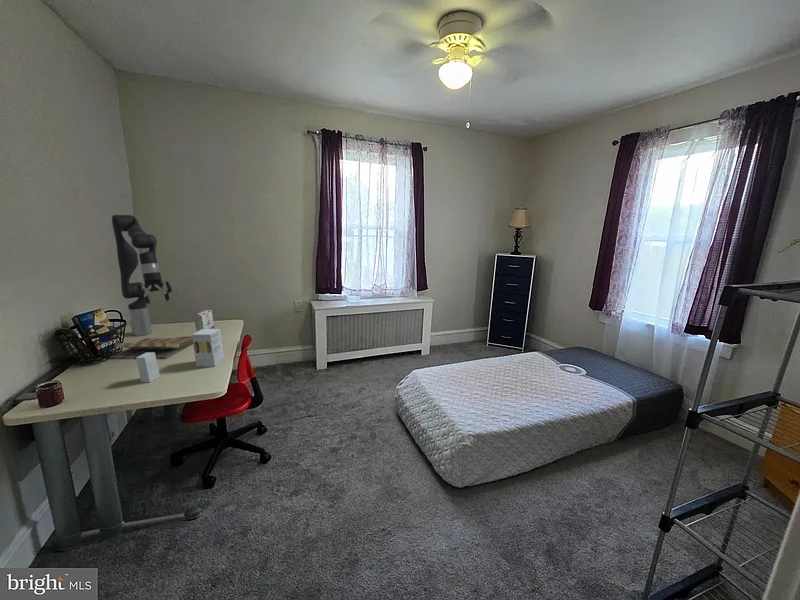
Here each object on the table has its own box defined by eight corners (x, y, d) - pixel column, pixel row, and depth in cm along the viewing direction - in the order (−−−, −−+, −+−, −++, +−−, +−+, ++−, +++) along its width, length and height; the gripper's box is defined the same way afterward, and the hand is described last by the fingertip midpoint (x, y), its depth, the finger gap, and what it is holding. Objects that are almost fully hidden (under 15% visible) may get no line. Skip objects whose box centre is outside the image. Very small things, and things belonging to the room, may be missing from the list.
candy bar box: (208, 335, 208) (204, 309, 205) (216, 335, 208) (212, 309, 205) (197, 341, 198) (193, 314, 194) (205, 341, 197) (201, 314, 194)
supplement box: (195, 367, 161) (190, 334, 158) (206, 359, 170) (201, 328, 167) (215, 366, 162) (210, 334, 158) (225, 359, 171) (220, 328, 167)
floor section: (110, 358, 173) (109, 353, 172) (146, 342, 196) (145, 337, 196) (166, 358, 172) (165, 353, 171) (195, 342, 195) (194, 337, 195)
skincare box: (151, 376, 152) (146, 352, 149) (160, 376, 152) (155, 352, 149) (140, 382, 146) (135, 357, 144) (149, 382, 146) (144, 357, 143)
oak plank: (114, 346, 174) (115, 342, 175) (130, 347, 184) (131, 344, 185) (166, 346, 173) (166, 342, 174) (179, 347, 183) (179, 344, 183)
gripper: (169, 270, 181) (175, 299, 183) (138, 274, 177) (145, 303, 179) (164, 270, 174) (171, 300, 176) (132, 274, 170) (139, 305, 172)
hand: (158, 302), depth 178 cm, fingers open, 8 cm apart
